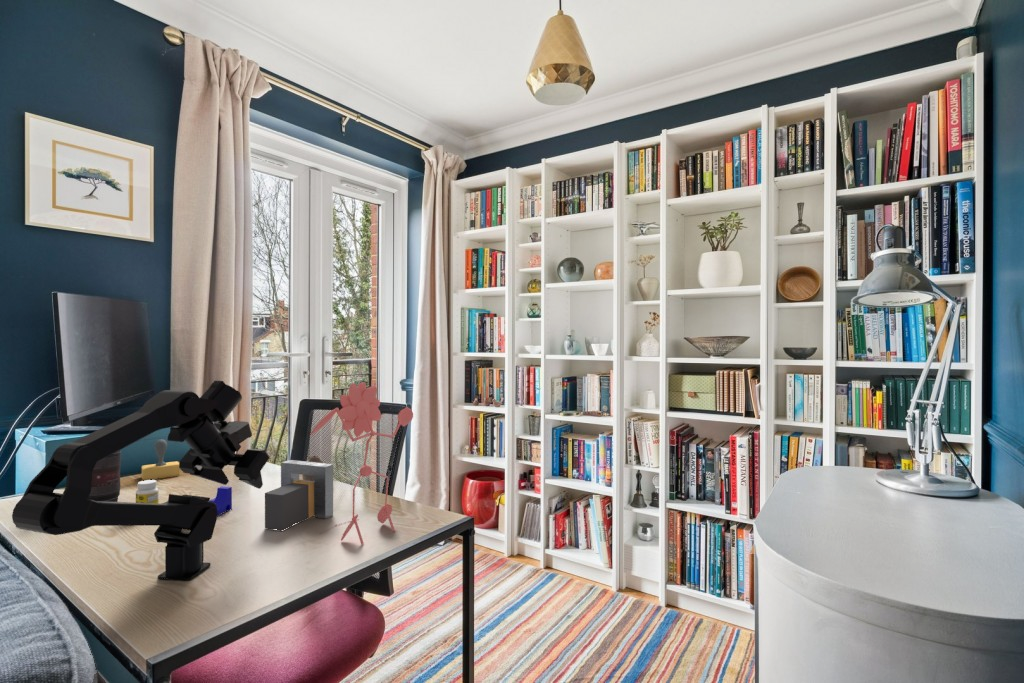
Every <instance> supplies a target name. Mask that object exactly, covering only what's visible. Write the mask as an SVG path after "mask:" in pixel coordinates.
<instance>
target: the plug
mask: <svg viewBox="0 0 1024 683" xmlns="http://www.w3.org/2000/svg"><path fill="white" fill-rule="evenodd" d="M313 515H315V481H308V480H303V479H299V480H297V481H294V482H292V483H290V484H287V485H285V486H282V487H281V486H280V487H277V488H275V489H273V490H269V491H267V492H265V493H264V529H265V528H268V529H267V530H269V529H277V530H284V529H286V528H288V527H290V526H292V525H293V524H295V523H298V522H300V521H302V520H304V521H306V520H305V519H307V518H309V517H311V516H313ZM313 517H314V516H313ZM311 518H312V517H311ZM309 519H310V518H309ZM307 520H308V519H307ZM302 522H303V521H302ZM300 523H301V522H300ZM298 524H299V523H298ZM292 527H293V526H292ZM290 528H291V527H290ZM288 529H289V528H288ZM286 530H287V529H286ZM284 531H285V530H284Z"/></svg>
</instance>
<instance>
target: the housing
mask: <svg viewBox="0 0 1024 683" xmlns="http://www.w3.org/2000/svg"><path fill="white" fill-rule="evenodd" d="M300 475H301V476H302V475H311V476H315V516H314V518H315V517H318V518H317V519H321V518H327V519H328V518H330V517H332V516H334V463H326V462H325V463H324V462H323V463H316V462H308V461H303V460H294V459H288V460H284V461H281V462H280V487H282V486H285V485H287V484H290V483H292V482H294V481H297V480H300ZM331 515H332V516H331ZM329 516H330V517H329Z"/></svg>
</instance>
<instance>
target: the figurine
mask: <svg viewBox="0 0 1024 683" xmlns="http://www.w3.org/2000/svg"><path fill="white" fill-rule="evenodd" d="M366 384H367V383H366V382H363V381H362V382H360V383H359V384H358V385H356V383H350V386H349V388H348V395H346V394H341V396H340V397H339V401H340V405H341V407H342V408H341V409H339V407H335V408H334V409H332V410H330V411H329V412H328V413H327V414H326V415H325V416H323V418H321V419H320V420H319V422H318V423H317V424H316V425H315V426H314V428H313V430H312V431H311V432H310V436H312V435H313V434H315V433H316V432H318V431H319V430H321V429H322V428H323V427H324V426H325V425H326V424H328V422H329V421H330V420H331V419H332V418H333V417H334V416H335V414H337V415H338V418H339V420H340V421H341V422H342V425H341V428H342V430H343V431H346V433H347V435H348V436H349V438H350V440H351V442H352V443H353V442H355V441H358V440H362V439H364V438H366V437H368V439H367V440H366V442H365V444H366V445H365V452H364V459H363V460H364V461H363V464H362V466H361V467H360V468H359V475H358V478H357V479H356V482H355V484H354V486H353V488H352V517H351V520H350V521H348V523H349V524H348V525H347V527H346V529H345V530H344V532H343V533H342V536H341V539H340V541H341V542H343V540H344V538H345V537H346V536H347V535H348V533H349V532H350V530H351V529H352V528H353V526H354V525H355V528H356V532H357V535H358V538H359V542H360V545H364V543H365V542H364V540H363V537H362V534H361V529H360V528H359V525H358V524H359V523H358V521H360V519H358V518H359V514H358V513H356V514H355V495H356V493H355V489H356V488H357V487H358V486H357V485H358V483H359V481H360V479H361V476H362V477H364V478H365V477H366V478H367V477H369V476H371V475H372V474H374V475H377V476H380V477H383V478H386V486H385V487H386V490H385V501H384V505H383V506H382V507H381V508H380V510H379V511H378V513H377V516H376V517H377V521H378V523H381V524H384V523H385V522H386V521H387V519H388V522H389V525H390V528H391V530H392V532H395V531H396V530H395V526H394V524H393V521H392V518H391V514H392V512H393V507H392V504H391V503H388V492H389V490H388V489H389V481H390V480H389V476H387V475H384V474H381V473H378V472H376V471H373V469H372V467H371V466H370V465H369V464H367V459H368V451H369V446H370V445H369V444H370V441H371V440H372V437H374V436H378V437H379V436H380V437H385V438H391V439H394V438H395V436H396V435H397V433H398V430H399V429H400V427H401V426H402V427H406V426H407V425H408V424H410V423H411V422H412V420H413V418H414V412H413V410H412V409H411V408H409V406H405V408H403V409H401V410H400V411H399V413H398V414H397V417H396V418H397V421H398V424H397V426H396V428H395V430H394V432H393V433H392V435H391V434H386V433H380V432H375V431H374V429H373V421H375V422H379V421H380V420H382V413H381V410H380V409H379V408H380V405H381V401H380V400H379V399H378V398H377V397H376V396H377V394H378V393H377V392H378V387H376V386H372V385H371V386H369V387H367V385H366ZM352 429H353V434H354V436H355V438H354V437H353V435H352V434H351V432H350V430H352ZM363 433H366V434H363ZM362 434H363V435H362ZM346 522H347V521H346ZM346 522H344V524H346ZM410 522H411V523H412V524H415V522H414V521H410ZM340 524H341V523H339V524H335V527H337V525H338V526H340Z"/></svg>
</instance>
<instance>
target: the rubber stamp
mask: <svg viewBox="0 0 1024 683" xmlns="http://www.w3.org/2000/svg"><path fill="white" fill-rule="evenodd" d="M153 448H154V451H155V453H156V456H157V458H158V460H157V463H154V464H153V463H152V464H145V465H141V480H142V479H143V480H144V481H145V480H150V479H152V480H157V479H158V478H159V479H164V478H165V479H166V478H173V477H179V476H181V469H180V468H179V463H180V461H169V462H165V461H164V457H165V453H166V451H167V448H168V442H167V441H166V439H164V438H163V439H160V438H159V439H158V440H156V441H155V442H154V446H153ZM143 480H142V481H143Z"/></svg>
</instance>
